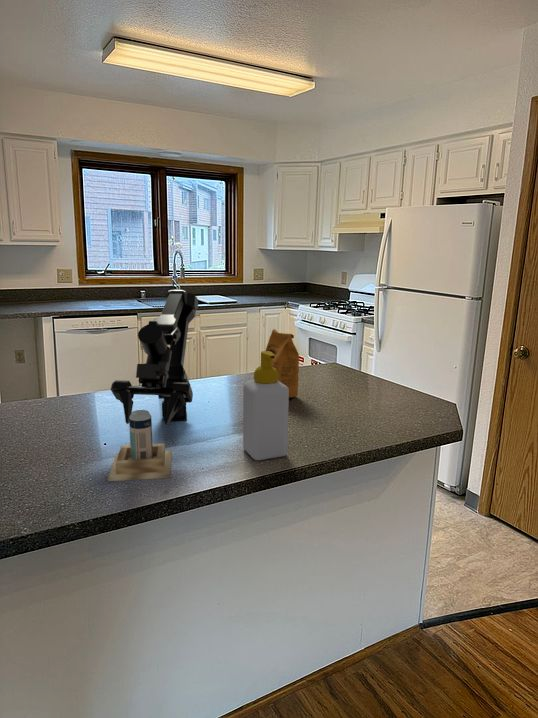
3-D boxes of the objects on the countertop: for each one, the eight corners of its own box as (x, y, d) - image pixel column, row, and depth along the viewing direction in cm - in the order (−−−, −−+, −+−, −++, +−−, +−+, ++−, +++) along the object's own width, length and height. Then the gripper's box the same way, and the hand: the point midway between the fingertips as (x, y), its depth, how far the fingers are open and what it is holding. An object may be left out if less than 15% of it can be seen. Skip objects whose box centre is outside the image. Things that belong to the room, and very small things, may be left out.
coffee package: (282, 389, 177) (284, 327, 172) (301, 398, 166) (303, 333, 161) (257, 392, 172) (258, 329, 167) (275, 402, 162) (277, 335, 157)
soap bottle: (254, 462, 117) (255, 357, 112) (241, 448, 125) (241, 349, 120) (289, 456, 121) (292, 354, 115) (274, 443, 129) (275, 347, 123)
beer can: (157, 460, 116) (155, 411, 113) (144, 468, 111) (142, 417, 109) (139, 457, 117) (137, 408, 115) (126, 465, 113) (124, 414, 110)
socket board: (171, 453, 122) (171, 440, 121) (170, 477, 109) (169, 463, 108) (116, 456, 120) (115, 443, 119) (108, 481, 107) (107, 466, 106)
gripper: (110, 347, 119) (96, 407, 111) (189, 349, 118) (180, 410, 110) (123, 371, 128) (110, 427, 120) (196, 373, 127) (188, 430, 119)
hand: (146, 423), depth 117 cm, fingers open, 9 cm apart
